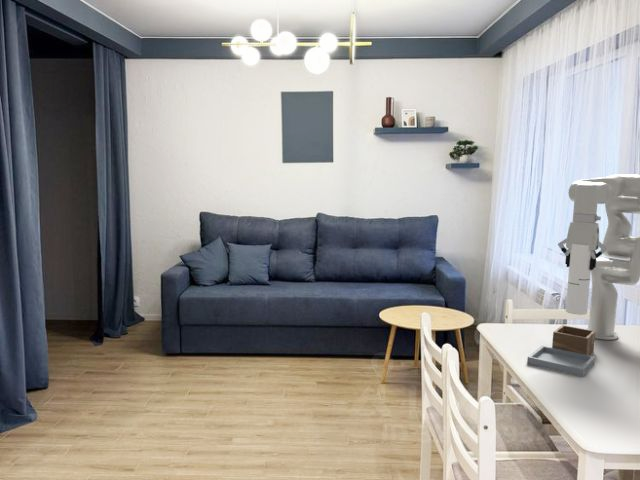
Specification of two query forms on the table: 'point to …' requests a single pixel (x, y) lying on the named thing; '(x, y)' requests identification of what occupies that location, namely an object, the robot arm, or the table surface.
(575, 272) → the cylindrical container
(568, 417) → the table surface
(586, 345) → the walnut box
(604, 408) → the table surface
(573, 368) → the slate tray
